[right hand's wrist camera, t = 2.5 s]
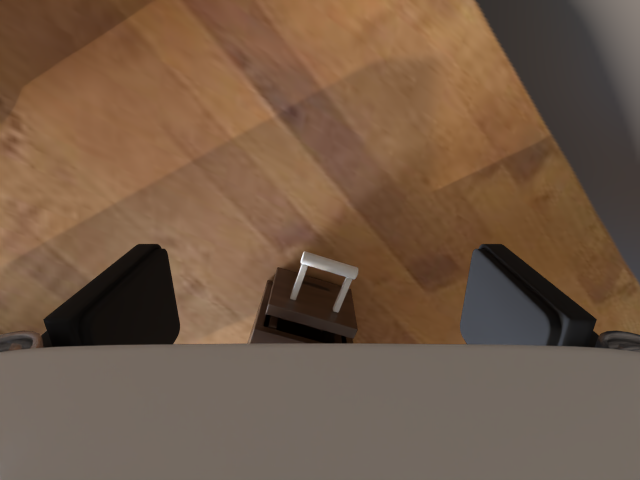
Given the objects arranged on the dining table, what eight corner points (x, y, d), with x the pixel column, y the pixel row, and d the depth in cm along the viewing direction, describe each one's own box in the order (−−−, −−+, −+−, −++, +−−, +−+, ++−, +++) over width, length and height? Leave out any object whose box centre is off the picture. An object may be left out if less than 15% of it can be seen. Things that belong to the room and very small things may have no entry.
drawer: (291, 226, 39) (284, 255, 32) (367, 250, 40) (378, 284, 33) (242, 373, 47) (228, 425, 39) (307, 390, 48) (305, 444, 41)
